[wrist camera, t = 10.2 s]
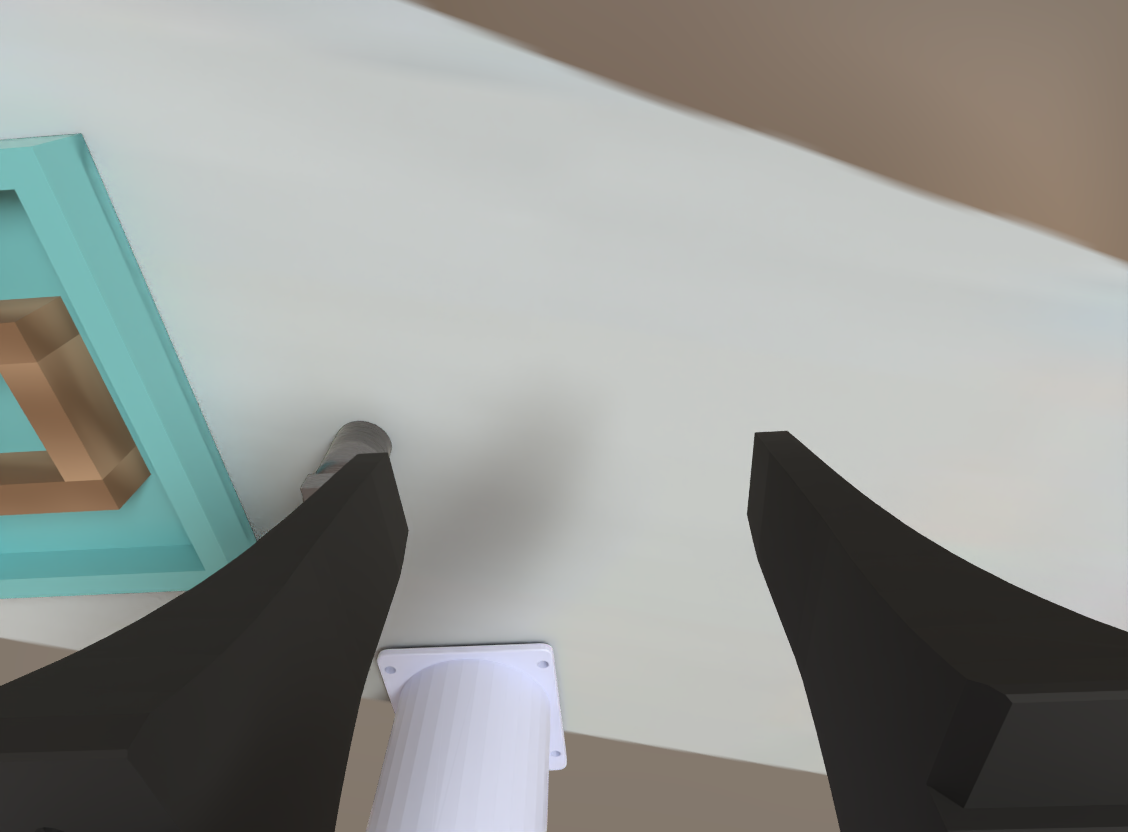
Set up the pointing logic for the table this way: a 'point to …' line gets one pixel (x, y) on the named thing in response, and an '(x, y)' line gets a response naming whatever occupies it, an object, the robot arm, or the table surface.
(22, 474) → the collar
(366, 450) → the stake
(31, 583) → the tray
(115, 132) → the table surface
